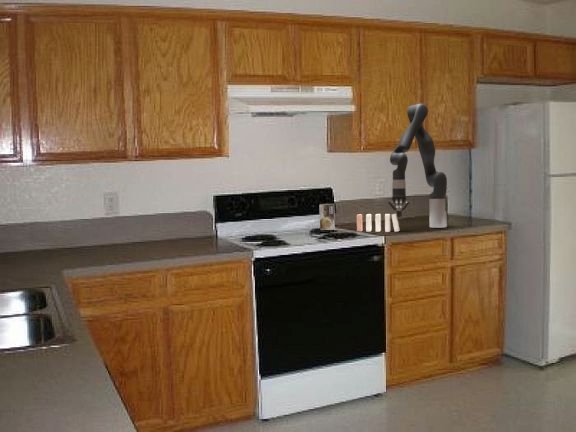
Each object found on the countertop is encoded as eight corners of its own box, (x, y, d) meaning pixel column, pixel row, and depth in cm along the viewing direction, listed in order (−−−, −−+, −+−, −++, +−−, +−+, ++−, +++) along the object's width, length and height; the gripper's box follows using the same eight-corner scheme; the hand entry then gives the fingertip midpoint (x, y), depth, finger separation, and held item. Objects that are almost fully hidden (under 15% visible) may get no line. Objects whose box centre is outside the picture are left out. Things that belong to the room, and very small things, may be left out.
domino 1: (362, 230, 359) (362, 214, 358) (361, 231, 354) (360, 214, 353) (358, 230, 360) (358, 214, 359) (357, 231, 355) (356, 214, 354)
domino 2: (371, 230, 357) (371, 214, 357) (370, 231, 353) (370, 214, 352) (367, 230, 358) (367, 214, 357) (366, 231, 353) (365, 214, 353)
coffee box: (335, 229, 371) (334, 203, 370) (334, 230, 364) (334, 204, 363) (320, 230, 372) (319, 203, 370) (319, 231, 365) (319, 204, 364)
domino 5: (399, 230, 352) (396, 213, 352) (398, 231, 348) (395, 214, 348) (395, 231, 353) (392, 214, 353) (394, 231, 348) (391, 214, 348)
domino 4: (390, 231, 354) (390, 214, 353) (389, 231, 349) (389, 214, 349) (386, 231, 355) (386, 214, 354) (385, 231, 350) (384, 214, 349)
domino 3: (380, 231, 356) (380, 214, 355) (379, 231, 351) (379, 214, 350) (376, 231, 356) (376, 214, 356) (375, 231, 352) (375, 214, 351)
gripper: (411, 187, 350) (411, 217, 351) (388, 187, 354) (388, 217, 355) (410, 187, 343) (410, 218, 344) (386, 188, 346) (387, 218, 348)
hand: (399, 217), depth 349 cm, fingers closed
